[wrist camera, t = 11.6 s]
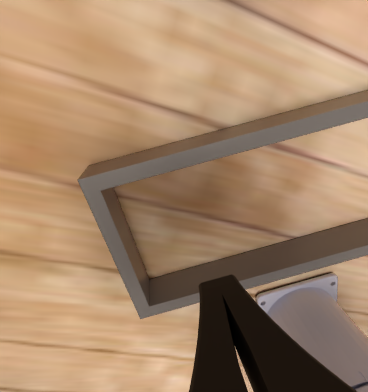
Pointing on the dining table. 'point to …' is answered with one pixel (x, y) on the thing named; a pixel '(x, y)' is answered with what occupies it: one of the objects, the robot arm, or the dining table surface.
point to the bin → (236, 265)
